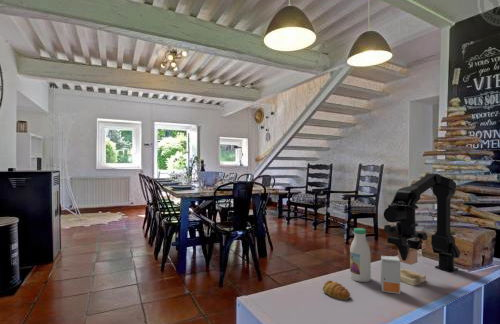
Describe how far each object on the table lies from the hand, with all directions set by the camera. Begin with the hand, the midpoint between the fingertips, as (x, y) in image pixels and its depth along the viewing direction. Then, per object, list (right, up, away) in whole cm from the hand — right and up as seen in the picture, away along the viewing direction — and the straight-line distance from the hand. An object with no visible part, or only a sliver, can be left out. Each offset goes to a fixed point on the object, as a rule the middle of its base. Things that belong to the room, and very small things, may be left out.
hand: (407, 259), depth 112 cm
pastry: (-33, -8, -13) cm, 36 cm away
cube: (0, -1, 0) cm, 1 cm away
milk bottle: (-19, -8, 0) cm, 21 cm away
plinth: (0, -8, 0) cm, 8 cm away
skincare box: (-12, -8, -11) cm, 18 cm away
